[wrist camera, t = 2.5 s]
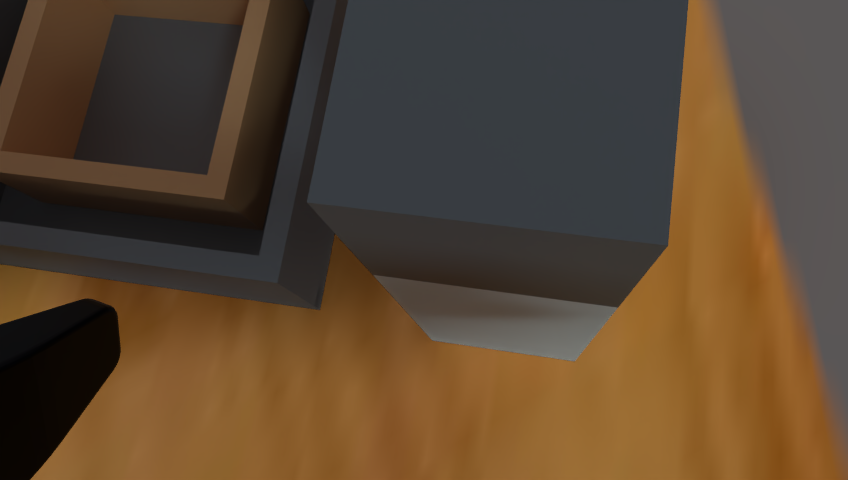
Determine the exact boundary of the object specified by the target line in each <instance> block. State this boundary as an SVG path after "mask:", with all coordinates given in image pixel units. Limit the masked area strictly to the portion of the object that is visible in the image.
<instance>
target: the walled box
mask: <svg viewBox="0 0 848 480" xmlns="http://www.w3.org/2000/svg"><path fill="white" fill-rule="evenodd" d="M347 4H348V0H0V264H4V265H11V266H18V267H25V268H32V269H39V270H46V271H53V272H60V273H67V274H74V275H81V276H88V277H95V278H102V279H108V280H115V281H122V282H129V283H136V284H143V285H150V286H157V287H164V288H171V289H178V290H185V291H192V292H199V293H206V294H213V295H220V296H227V297H234V298H241V299H248V300H255V301H261V302H268V303H275V304H282V305H289V306H296V307H303V308H310V309H317V310H320V307H321V302H322V296H323V291H324V286H325V281H326V276H327V271H328V265H329V260H330V255H331V250H332V245H333V240H334V234H335V233H334V232H333V231H332V229H331V228H330V227H329V226H328V225H327V224H326V223H325V222H324V221H323V220H322V218H321V217H320V216H319V215H318V214H317V213H316V212H315V211H314V210H313V209H312V207H311V206H310V205H309V204H308V203H307V199H308V194H309V189H310V184H311V179H312V174H313V170H314V165H315V160H316V155H317V150H318V145H319V140H320V135H321V130H322V126H323V121H324V116H325V111H326V106H327V101H328V96H329V91H330V87H331V82H332V77H333V72H334V67H335V62H336V57H337V52H338V48H339V43H340V38H341V33H342V28H343V23H344V18H345V13H346V9H347Z"/></svg>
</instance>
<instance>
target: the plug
mask: <svg viewBox="0 0 848 480" xmlns="http://www.w3.org/2000/svg"><path fill="white" fill-rule="evenodd" d="M687 10H688V0H348V4H347V9H346V13H345V18H344V23H343V28H342V33H341V38H340V43H339V48H338V52H337V57H336V62H335V67H334V72H333V77H332V82H331V87H330V91H329V96H328V101H327V106H326V111H325V116H324V121H323V126H322V130H321V135H320V140H319V145H318V150H317V155H316V160H315V165H314V170H313V174H312V179H311V184H310V189H309V194H308V199H307V203H308V204H309V205H310V206H311V207H312V209H313V210H314V211H315V212H316V213H317V214H318V215H319V216H320V217H321V218H322V220H323V221H324V222H325V223H326V224H327V225H328V226H329V227H330V228H331V229H332V231H333V232H334V233H335V234H336V235H337V236H338V237H339V238H340V239H341V241H342V242H343V243H344V244H345V245H346V246H347V247H348V248H349V249H350V250H351V252H352V253H353V254H354V255H355V256H356V257H357V258H358V259H359V260H360V261H361V263H362V264H363V265H364V266H365V267H366V268H367V269H368V270H369V271H370V272H371V274H372V275H373V276H374V277H375V278H376V279H377V280H378V281H379V282H380V283H381V285H382V286H383V287H384V288H385V289H386V290H387V291H388V292H389V293H390V294H391V296H392V297H393V298H394V299H395V300H396V301H397V302H398V303H399V304H400V305H401V307H402V308H403V309H404V310H405V311H406V312H407V313H408V314H409V315H410V316H411V318H412V319H413V320H414V321H415V322H416V323H417V324H418V325H419V326H420V327H421V329H422V330H423V331H424V332H425V333H426V334H427V335H428V336H429V337H430V339H431V340H433V341H440V342H447V343H454V344H460V345H467V346H474V347H481V348H488V349H494V350H501V351H508V352H515V353H522V354H528V355H535V356H542V357H549V358H556V359H563V360H569V361H575V360H576V359H577V358H578V357H579V355H580V354H581V353H582V352H583V350H584V349H585V348H586V347H587V345H588V344H589V343H590V342H591V340H592V339H593V338H594V337H595V336H596V334H597V333H598V332H599V331H600V329H601V328H602V327H603V326H604V324H605V323H606V322H607V321H608V319H609V318H610V317H611V316H612V314H613V313H614V312H615V311H616V309H617V308H618V307H619V306H620V304H621V303H622V302H623V301H624V300H625V298H626V297H627V296H628V295H629V293H630V292H631V291H632V290H633V288H634V287H635V286H636V285H637V283H638V282H639V281H640V280H641V278H642V277H643V276H644V275H645V273H646V272H647V271H648V270H649V268H650V267H651V266H652V265H653V264H654V262H655V261H656V260H657V259H658V257H659V256H660V255H661V254H662V252H663V251H664V250H665V249H666V247H667V246H668V238H669V226H670V214H671V202H672V190H673V178H674V166H675V154H676V142H677V130H678V118H679V106H680V94H681V82H682V70H683V58H684V46H685V34H686V22H687Z"/></svg>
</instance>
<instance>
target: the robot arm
mask: <svg viewBox="0 0 848 480" xmlns="http://www.w3.org/2000/svg"><path fill="white" fill-rule="evenodd" d="M120 352H121V347H120V337H119V326H118V316H117V312H116V311H115V309H114V308H113V307H112V306H110V305H107V304H104V303H101V302H99V301H96V300H93V299H82V300H78V301H75V302H72V303H68V304H65V305H62V306H59V307H56V308H52V309H49V310H46V311H43V312H39V313H36V314H33V315H30V316H27V317H23V318H20V319H17V320H14V321H10V322H7V323H4V324H1V325H0V480H30V479H31V478H32V477H33V476H34V475H35V473H36V472H37V471H38V470H39V469H40V468H41V467H42V465H43V464H44V463H45V462H46V461H47V459H48V458H49V457H50V456H51V455H52V453H53V452H54V451H55V450H56V448H57V447H58V446H59V444H60V443H61V442H62V440H63V439H64V438H65V436H66V435H67V434H68V432H69V431H70V429H71V428H72V427H73V425H74V424H75V422H76V421H77V420H78V418H79V417H80V416H81V414H82V413H83V411H84V410H85V409H86V407H87V406H88V405H89V403H90V402H91V400H92V399H93V398H94V396H95V395H96V393H97V392H98V391H99V389H100V388H101V387H102V385H103V384H104V382H105V381H106V380H107V378H108V377H109V376H110V374H111V373H112V371H113V370H114V368H115V367H116V365H117V363H118V361H119V358H120Z"/></svg>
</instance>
